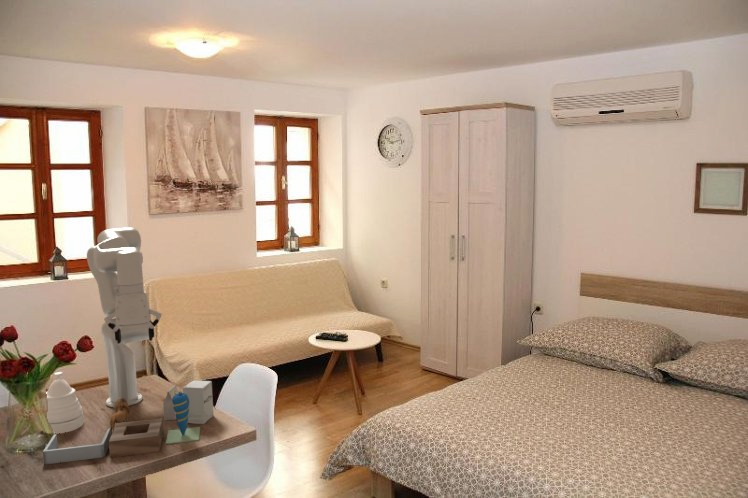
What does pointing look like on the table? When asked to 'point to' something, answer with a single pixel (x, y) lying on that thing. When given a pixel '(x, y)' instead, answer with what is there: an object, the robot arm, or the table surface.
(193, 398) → the supplement box
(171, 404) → the white printed carton
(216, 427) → the table surface
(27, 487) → the table surface
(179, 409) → the ornament
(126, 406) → the lion figurine
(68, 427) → the honey pot
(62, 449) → the grey arch frame
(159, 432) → the hole deck
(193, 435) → the mat
